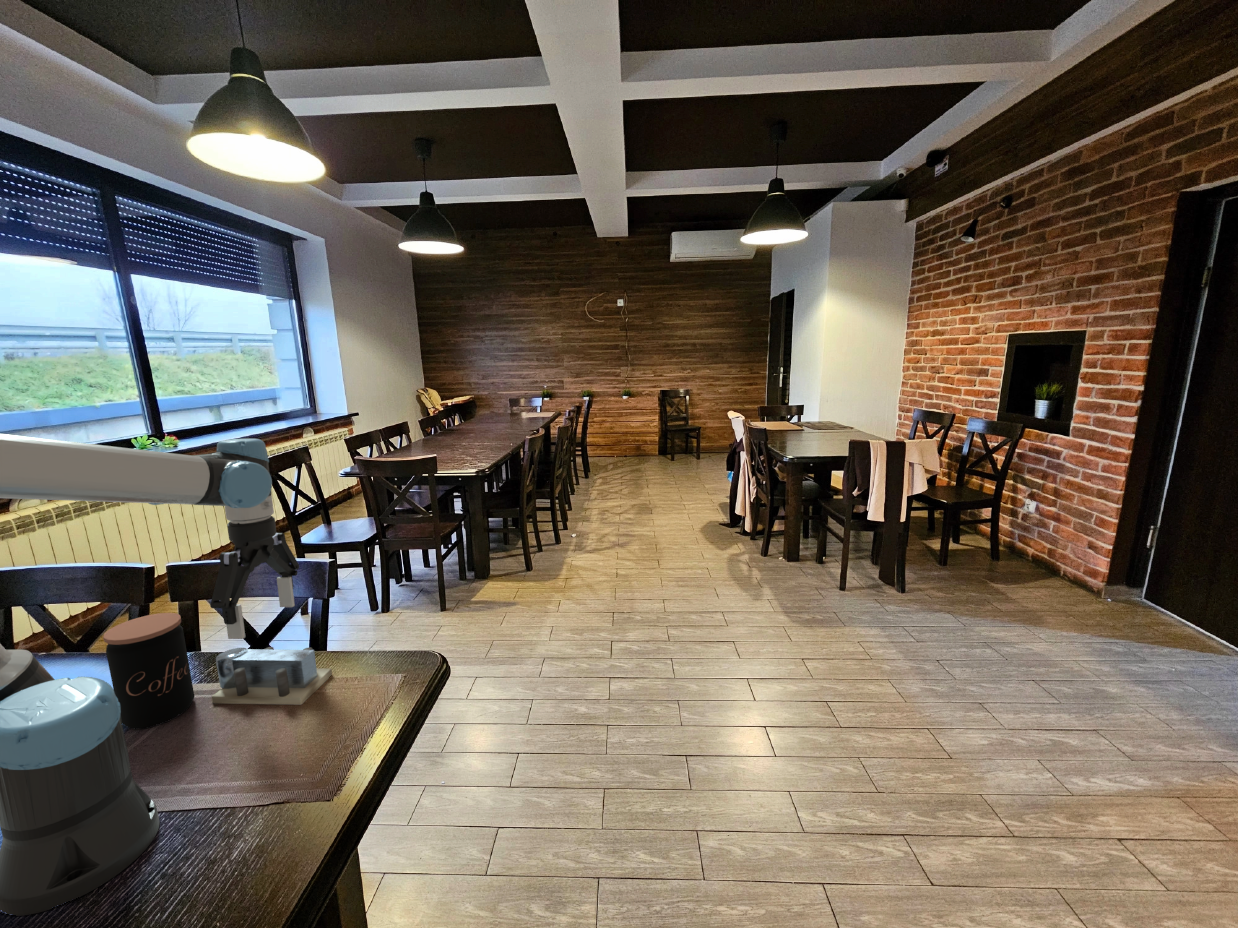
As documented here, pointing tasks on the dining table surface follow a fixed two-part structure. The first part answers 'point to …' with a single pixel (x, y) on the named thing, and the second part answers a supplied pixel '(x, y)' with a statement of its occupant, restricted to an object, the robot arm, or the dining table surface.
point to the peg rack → (270, 689)
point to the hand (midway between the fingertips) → (263, 621)
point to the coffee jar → (149, 669)
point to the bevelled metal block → (266, 667)
